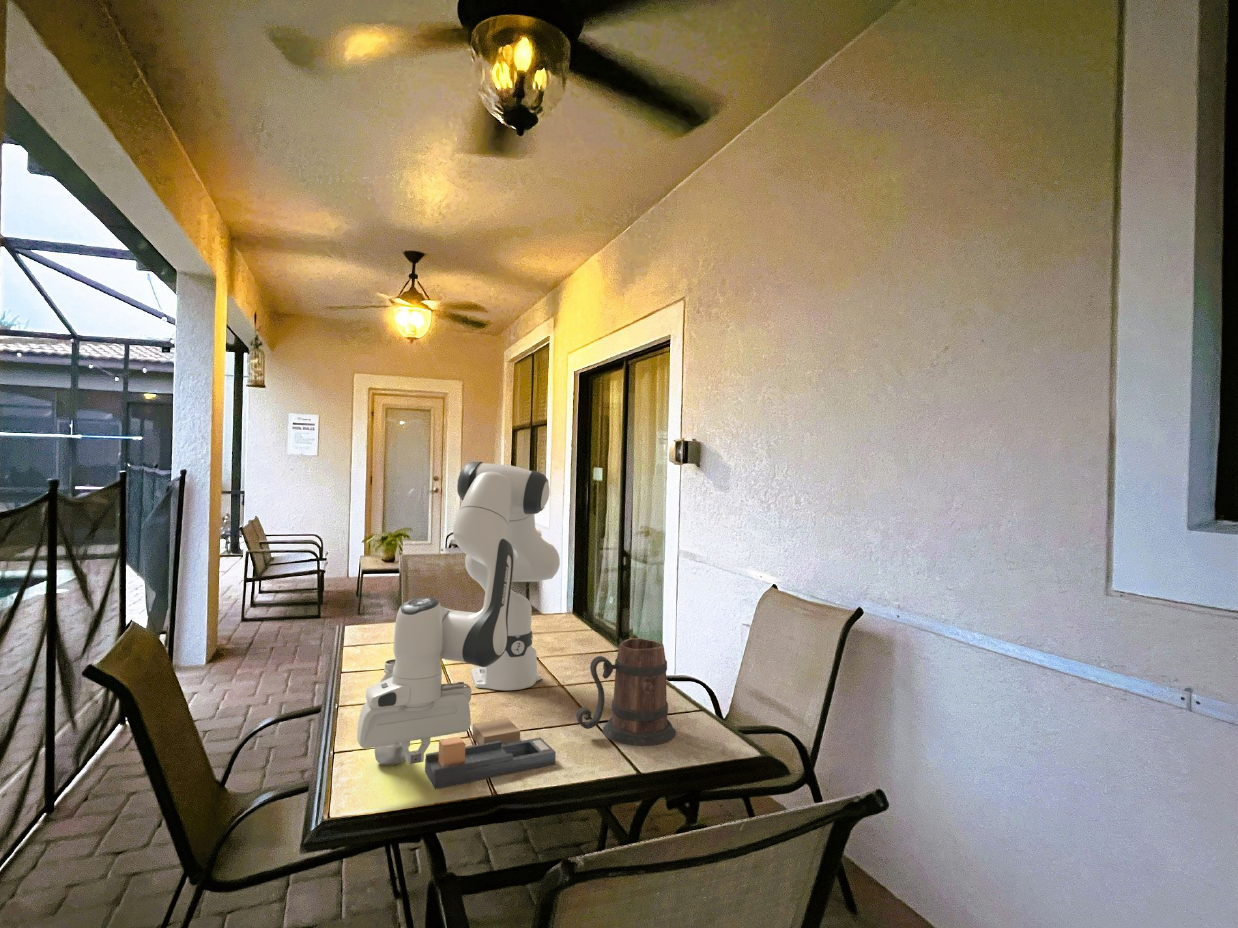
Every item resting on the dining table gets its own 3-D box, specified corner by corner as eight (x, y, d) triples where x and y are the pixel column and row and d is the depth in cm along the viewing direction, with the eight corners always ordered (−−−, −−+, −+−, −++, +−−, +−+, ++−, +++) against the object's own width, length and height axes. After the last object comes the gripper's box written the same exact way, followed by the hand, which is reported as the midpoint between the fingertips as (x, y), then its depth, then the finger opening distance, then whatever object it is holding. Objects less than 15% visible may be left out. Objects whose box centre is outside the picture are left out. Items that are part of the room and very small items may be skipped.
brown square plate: (472, 737, 145) (472, 723, 145) (507, 731, 149) (507, 717, 149) (483, 751, 138) (484, 736, 138) (519, 744, 142) (520, 730, 142)
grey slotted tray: (424, 771, 128) (425, 753, 128) (540, 749, 140) (540, 732, 140) (434, 789, 121) (435, 770, 121) (555, 764, 133) (555, 746, 133)
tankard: (656, 713, 162) (658, 632, 162) (689, 740, 146) (691, 650, 147) (565, 725, 153) (567, 638, 153) (589, 754, 138) (592, 658, 138)
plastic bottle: (412, 755, 135) (415, 657, 135) (402, 769, 128) (405, 666, 128) (380, 754, 135) (383, 656, 135) (369, 769, 128) (372, 666, 128)
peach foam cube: (438, 760, 127) (439, 739, 127) (458, 756, 129) (459, 736, 129) (443, 769, 124) (444, 747, 124) (464, 765, 126) (465, 743, 126)
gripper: (466, 675, 131) (464, 745, 131) (357, 689, 121) (354, 765, 121) (476, 685, 125) (474, 758, 125) (362, 700, 115) (359, 780, 115)
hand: (414, 762), depth 123 cm, fingers closed
